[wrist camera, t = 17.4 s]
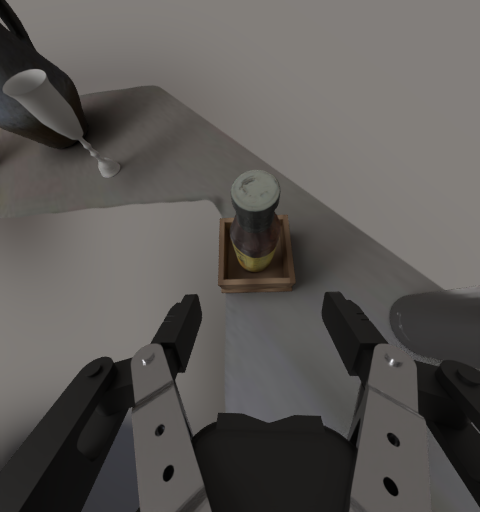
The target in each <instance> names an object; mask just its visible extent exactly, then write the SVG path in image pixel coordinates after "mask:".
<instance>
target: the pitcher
mask: <svg viewBox="0 0 480 512" xmlns="http://www.w3.org/2000/svg"><path fill="white" fill-rule="evenodd" d="M0 18H1V19H2V20H3V22H4V23H5V24H6V26H7V27H8V29H9V30H10V31H8V30H7V29H6V28H5V27H4V26H3V25H2V24H1V23H0V128H2V129H4V130H7V131H9V132H13V133H15V134H18V135H21V136H23V137H26V138H29V139H31V140H34V141H36V142H39V143H42V144H44V145H47V146H49V147H52V148H64V147H69V146H71V145H72V144H74V143H75V142H77V141H79V140H72V139H70V138H68V137H66V136H64V135H62V134H60V133H58V132H56V131H54V130H53V129H51V128H49V127H48V126H46V125H44V124H43V123H41V122H40V121H39V120H38V119H37V118H36V117H35V116H34V115H33V114H31V113H30V112H29V111H28V110H27V109H26V108H25V107H24V106H23V105H22V104H20V103H19V102H18V101H17V100H16V99H14V98H12V97H10V96H8V95H7V94H5V93H4V92H3V90H2V89H3V86H4V84H5V83H6V81H8V80H9V79H10V78H11V77H13V76H15V75H16V74H18V73H21V72H23V71H27V70H32V69H39V70H42V71H44V72H45V73H46V75H47V78H48V80H49V82H50V83H51V84H52V86H53V87H54V88H55V89H56V90H57V91H58V92H59V94H60V95H61V96H62V97H63V98H64V99H65V100H66V102H67V103H68V104H69V105H70V106H71V108H72V109H73V111H74V113H75V115H76V117H77V119H78V121H79V123H80V126H81V128H82V131H83V136H82V138H83V137H84V136H85V134H86V133H87V130H88V124H87V121H86V118H85V116H84V113H83V110H82V106H81V102H80V98H79V95H78V92H77V89H76V87H75V85H74V83H73V82H72V80H71V79H70V78H69V77H68V75H67V74H65V73H64V72H63V71H61V70H60V69H59V68H58V67H57V66H55V65H54V64H52V63H51V62H50V61H48V60H47V59H45V58H44V57H43V56H41V55H40V54H39V53H38V52H37V51H36V49H35V48H34V46H33V44H32V42H31V40H30V38H29V36H28V34H27V32H26V31H25V29H24V27H23V25H22V23H21V21H20V20H19V18H18V17H17V15H16V14H15V13H14V11H13V10H12V8H11V7H10V6H9V4H8V3H7V2H6V1H5V0H0Z"/></svg>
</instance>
